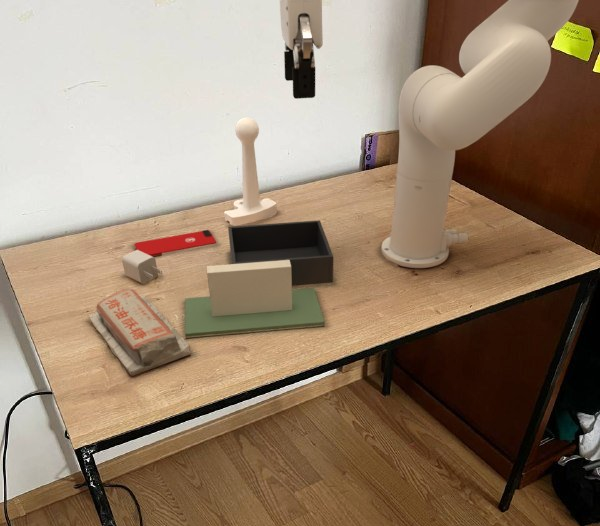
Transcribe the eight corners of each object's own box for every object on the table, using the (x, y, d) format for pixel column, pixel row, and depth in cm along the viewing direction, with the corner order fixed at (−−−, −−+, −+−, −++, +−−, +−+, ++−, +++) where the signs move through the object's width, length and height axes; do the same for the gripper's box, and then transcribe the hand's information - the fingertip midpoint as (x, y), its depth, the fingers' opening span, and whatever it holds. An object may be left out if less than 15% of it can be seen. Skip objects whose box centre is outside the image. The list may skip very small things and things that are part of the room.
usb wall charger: (143, 268, 113) (139, 248, 110) (168, 280, 110) (164, 260, 107) (125, 277, 111) (121, 257, 108) (150, 289, 107) (146, 269, 105)
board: (290, 303, 102) (289, 259, 97) (292, 310, 100) (291, 266, 95) (211, 309, 101) (206, 265, 95) (212, 316, 99) (206, 272, 94)
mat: (314, 292, 106) (314, 287, 106) (324, 327, 98) (324, 321, 98) (186, 303, 104) (185, 298, 103) (185, 339, 96) (185, 333, 96)
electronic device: (139, 258, 116) (217, 244, 120) (139, 256, 115) (216, 241, 119) (134, 245, 120) (209, 231, 124) (133, 242, 119) (208, 229, 123)
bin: (319, 247, 119) (320, 220, 115) (332, 284, 108) (333, 256, 104) (230, 253, 117) (228, 226, 113) (234, 292, 106) (232, 264, 103)
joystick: (236, 229, 125) (227, 126, 111) (216, 217, 129) (206, 116, 116) (280, 214, 130) (277, 114, 116) (259, 203, 134) (254, 105, 121)
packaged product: (189, 328, 90) (125, 352, 86) (193, 355, 93) (131, 379, 89) (140, 277, 101) (81, 295, 97) (145, 302, 104) (88, 321, 100)
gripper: (337, -45, 76) (334, 103, 87) (315, -59, 88) (315, 72, 100) (277, -43, 75) (281, 106, 86) (263, -57, 88) (269, 74, 99)
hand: (299, 88), depth 93 cm, fingers open, 9 cm apart
